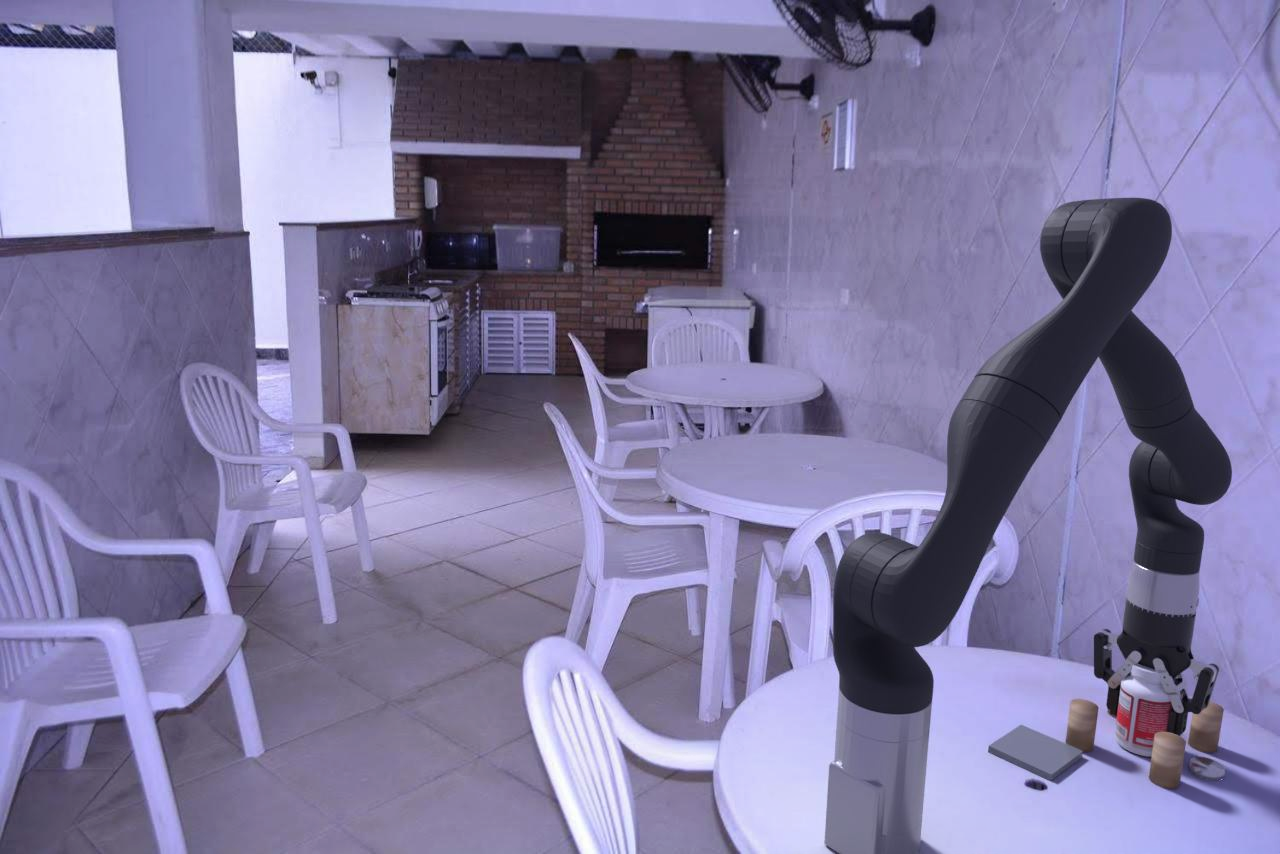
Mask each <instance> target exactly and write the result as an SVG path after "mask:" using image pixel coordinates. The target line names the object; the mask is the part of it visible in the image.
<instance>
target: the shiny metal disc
mask: <svg viewBox="0 0 1280 854" xmlns="http://www.w3.org/2000/svg"><path fill="white" fill-rule="evenodd" d="M1188 768H1189V769H1188V770H1189V771H1190V772H1191V773H1192V774H1193V775H1195V776H1196V777H1198V778H1200V777H1201V779H1203V780H1206V779H1207V780H1206V781H1211V780H1212V782H1219V780H1220V781H1222V780H1221V779H1223V778H1224V779H1225V773H1226V768H1225V766H1224V765H1223V764H1222V763H1221V762H1218V761H1217V760H1215V759H1212V758H1209V757H1204V756H1194V757H1192V758H1190V761H1189V767H1188ZM1224 779H1223V780H1224Z"/></svg>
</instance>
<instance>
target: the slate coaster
mask: <svg viewBox="0 0 1280 854" xmlns="http://www.w3.org/2000/svg"><path fill="white" fill-rule="evenodd" d="M987 752H988V753H990V754H992V755H995V756H997V757H999V758H1001V759H1003V760H1006V761H1008V762H1009V763H1012V764H1014V765H1016V766H1017V767H1021V768H1022V769H1025V770H1026V771H1029V772H1031V773H1033V774H1035V775H1038V776H1039V777H1042V778H1044V779H1046V780H1048V781H1053V780H1054V779H1055V778H1057V777H1058V776H1059V775H1061V774H1062V773H1063V772H1064V771H1066V770H1068V768H1070V767H1071V766H1072V765H1074V764H1075V763H1076V762H1078V761H1079V760H1080V759H1081V758H1083V755H1084V752H1083V751H1082V750H1079V749H1077V748H1075V747H1072V746H1070V745H1068V744H1066V742H1063V741H1060V740H1058V739H1056V738H1053V737H1051V736H1049V735H1046V734H1044V733H1041V732H1039V731H1037V730H1034V729H1032V728H1030V727H1028V726H1025V725H1023V724H1020V725H1018V726H1017V727H1015V728H1013V729H1012V730H1010V731H1009V732H1007V733H1006V734H1005V735H1003V736H1001V737H1000V738H998V739H996V740H995V741H993V742H992V743H990V744H989V745H988V750H987Z"/></svg>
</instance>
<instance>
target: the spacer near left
mask: <svg viewBox="0 0 1280 854" xmlns="http://www.w3.org/2000/svg"><path fill="white" fill-rule="evenodd" d="M1186 745H1187V742H1186V740H1185V739H1184V738H1183V736H1181V735H1180V736H1179V735H1176V734H1174V733H1170V732H1157V733H1155V736H1154V743H1153V750H1152V757H1150V759H1151V760H1150V766H1149V772H1148V773H1149V774H1148V779H1149V781H1150V783H1152V784H1154V785H1156V786H1157V787H1160V788H1164V789H1167V790H1176V789H1178V788H1180V785H1181V778H1182V772H1183V767H1184V766H1183V765H1184V759H1185V753H1186Z"/></svg>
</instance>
